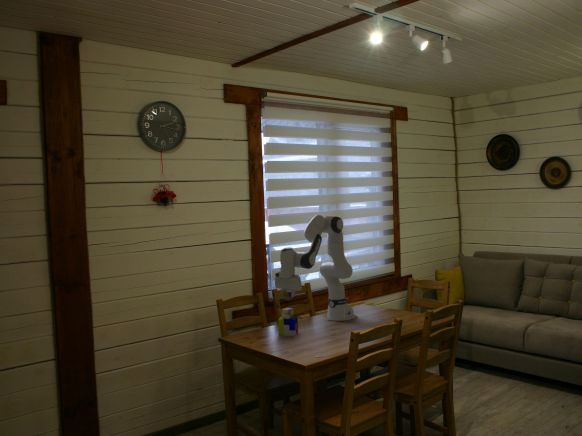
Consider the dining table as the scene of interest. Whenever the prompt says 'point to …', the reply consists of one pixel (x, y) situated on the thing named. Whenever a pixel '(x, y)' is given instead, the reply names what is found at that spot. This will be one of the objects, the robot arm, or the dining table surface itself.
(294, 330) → the puzzle toy
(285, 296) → the block walnut
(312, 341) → the dining table surface
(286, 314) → the block birch
